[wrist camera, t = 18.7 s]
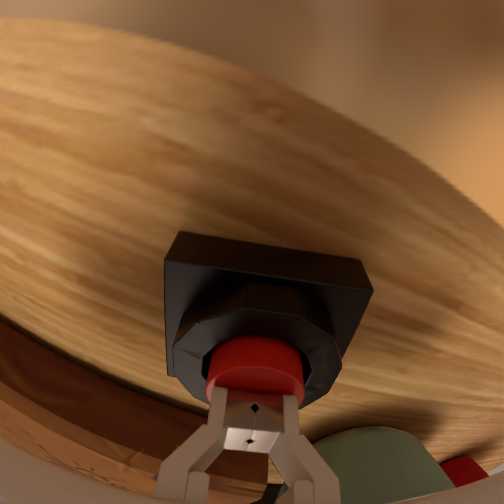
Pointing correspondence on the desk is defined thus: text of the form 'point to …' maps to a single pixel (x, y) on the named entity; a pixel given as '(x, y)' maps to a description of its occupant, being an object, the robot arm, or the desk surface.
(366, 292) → the button block
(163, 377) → the desk surface
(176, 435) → the diary
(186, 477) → the robot arm
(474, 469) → the vase
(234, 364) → the button
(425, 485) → the bowl
